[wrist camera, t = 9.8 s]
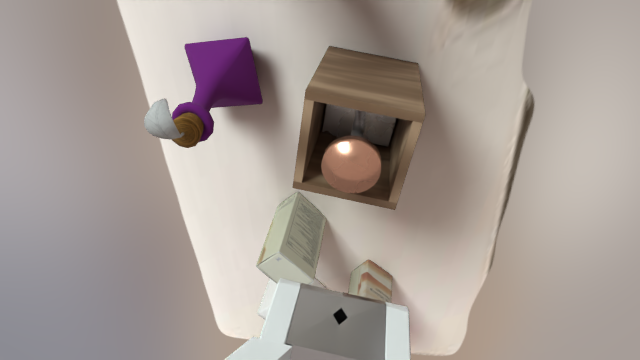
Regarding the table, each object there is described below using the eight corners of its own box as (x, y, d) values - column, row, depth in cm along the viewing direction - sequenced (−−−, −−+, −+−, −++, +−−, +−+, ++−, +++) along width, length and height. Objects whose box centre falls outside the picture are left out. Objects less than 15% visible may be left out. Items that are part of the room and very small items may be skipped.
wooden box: (329, 46, 45) (305, 90, 33) (418, 63, 44) (425, 114, 33) (316, 126, 50) (292, 187, 39) (395, 142, 50) (394, 209, 38)
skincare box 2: (393, 275, 62) (393, 330, 54) (374, 288, 64) (370, 343, 56) (368, 257, 61) (363, 310, 53) (349, 271, 63) (342, 325, 55)
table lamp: (333, 65, 43) (311, 117, 32) (406, 80, 42) (409, 137, 31) (322, 130, 47) (299, 195, 36) (388, 144, 47) (385, 214, 36)
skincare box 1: (277, 204, 58) (252, 265, 48) (298, 190, 56) (276, 249, 46) (307, 233, 60) (289, 296, 50) (328, 219, 58) (314, 283, 48)
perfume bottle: (270, 93, 49) (215, 169, 34) (213, 98, 51) (137, 172, 36) (257, 30, 45) (188, 84, 30) (196, 36, 47) (102, 92, 32)
